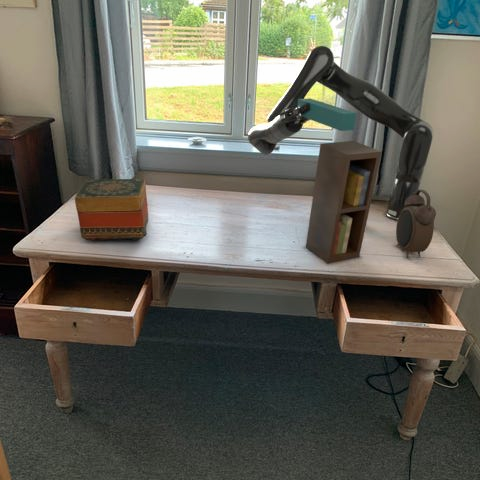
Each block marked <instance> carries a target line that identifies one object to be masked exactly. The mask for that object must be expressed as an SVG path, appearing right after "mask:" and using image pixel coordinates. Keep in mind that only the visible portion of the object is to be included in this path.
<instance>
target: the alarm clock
mask: <svg viewBox="0 0 480 480" xmlns="http://www.w3.org/2000/svg"><path fill="white" fill-rule="evenodd" d="M420 194H423V195H424V196H425V198H426V200H425V198H424V197H423V196H421V195H420ZM425 201H426V202H425ZM405 206H406V207H405V208H404V209H403V210H402V211H401V213H400V215H399V218H398V220H396V227H395V228H396V229H395V236H396V237H395V239H396V242H397V244H396V247H399V250H401V251H402V252H405V253H406V259H409V255H410V253H417V254H418V257H419V258H420V257H421V252H425V251H426V250H427V249H428V248H429V246H430V244H431V242H432V239H433V236H434V232H435V231H434V230H435V220H436V216H437V211H436V209H435V208H434V207H433V206H432V205H431V195H430V194H429V193H428V192H427V191H426V190H424V189H419V190H418V191H417V192H414V195H413V196H410V197H408V198H407V199H406V202H405Z"/></svg>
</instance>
